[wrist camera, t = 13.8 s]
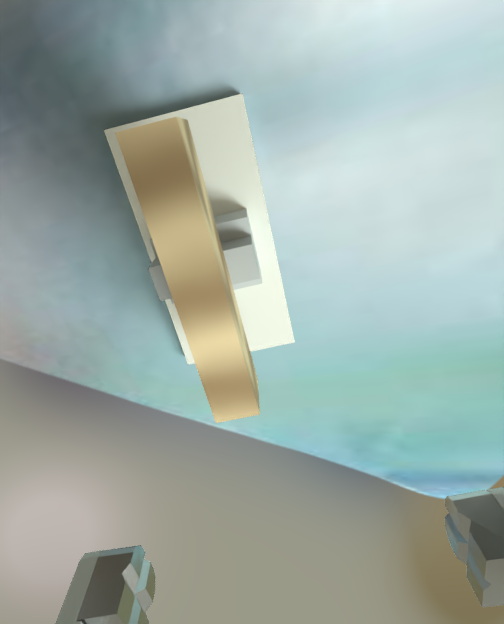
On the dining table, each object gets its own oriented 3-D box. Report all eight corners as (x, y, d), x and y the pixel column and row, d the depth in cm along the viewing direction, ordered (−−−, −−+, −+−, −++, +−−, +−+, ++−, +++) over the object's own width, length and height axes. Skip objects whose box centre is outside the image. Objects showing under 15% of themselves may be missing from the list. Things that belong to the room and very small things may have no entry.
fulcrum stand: (109, 130, 27) (69, 128, 21) (242, 95, 27) (242, 82, 20) (189, 357, 36) (178, 405, 29) (293, 335, 35) (304, 380, 29)
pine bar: (136, 133, 21) (114, 132, 18) (187, 119, 21) (176, 116, 17) (219, 386, 29) (216, 422, 25) (257, 379, 29) (259, 414, 25)
